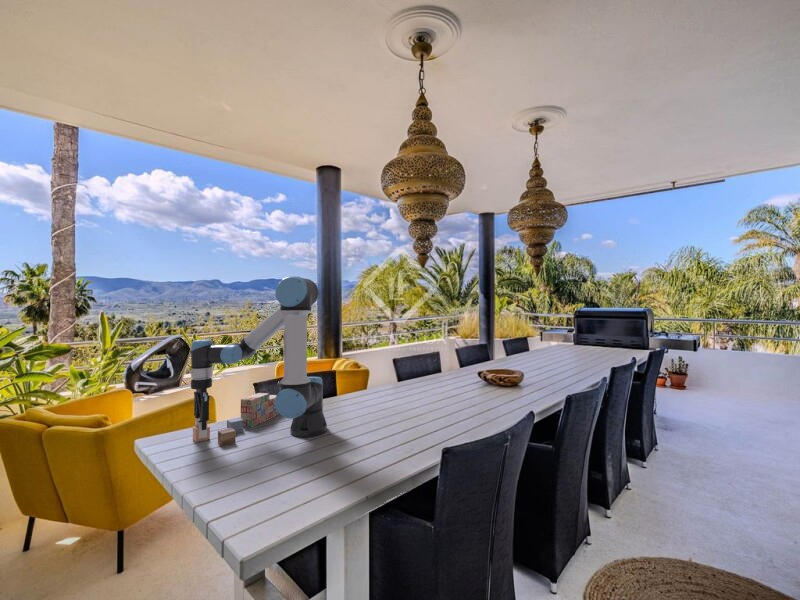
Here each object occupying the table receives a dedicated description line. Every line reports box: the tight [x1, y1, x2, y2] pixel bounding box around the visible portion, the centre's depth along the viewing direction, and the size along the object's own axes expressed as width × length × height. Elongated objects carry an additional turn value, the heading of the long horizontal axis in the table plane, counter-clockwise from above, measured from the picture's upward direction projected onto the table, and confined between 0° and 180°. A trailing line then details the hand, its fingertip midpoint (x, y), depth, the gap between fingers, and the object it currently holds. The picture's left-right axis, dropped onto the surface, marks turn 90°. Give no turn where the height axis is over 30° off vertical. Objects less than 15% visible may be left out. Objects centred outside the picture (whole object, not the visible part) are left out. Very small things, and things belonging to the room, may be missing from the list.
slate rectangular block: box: [226, 417, 244, 434], centre depth 154 cm, size 5×5×5 cm
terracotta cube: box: [192, 424, 211, 443], centre depth 145 cm, size 5×5×5 cm
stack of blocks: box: [240, 392, 280, 427], centre depth 171 cm, size 21×6×12 cm, turn 163°
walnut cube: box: [217, 427, 237, 447], centre depth 140 cm, size 5×5×5 cm
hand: (201, 435), depth 145 cm, fingers closed on terracotta cube, 5 cm apart
